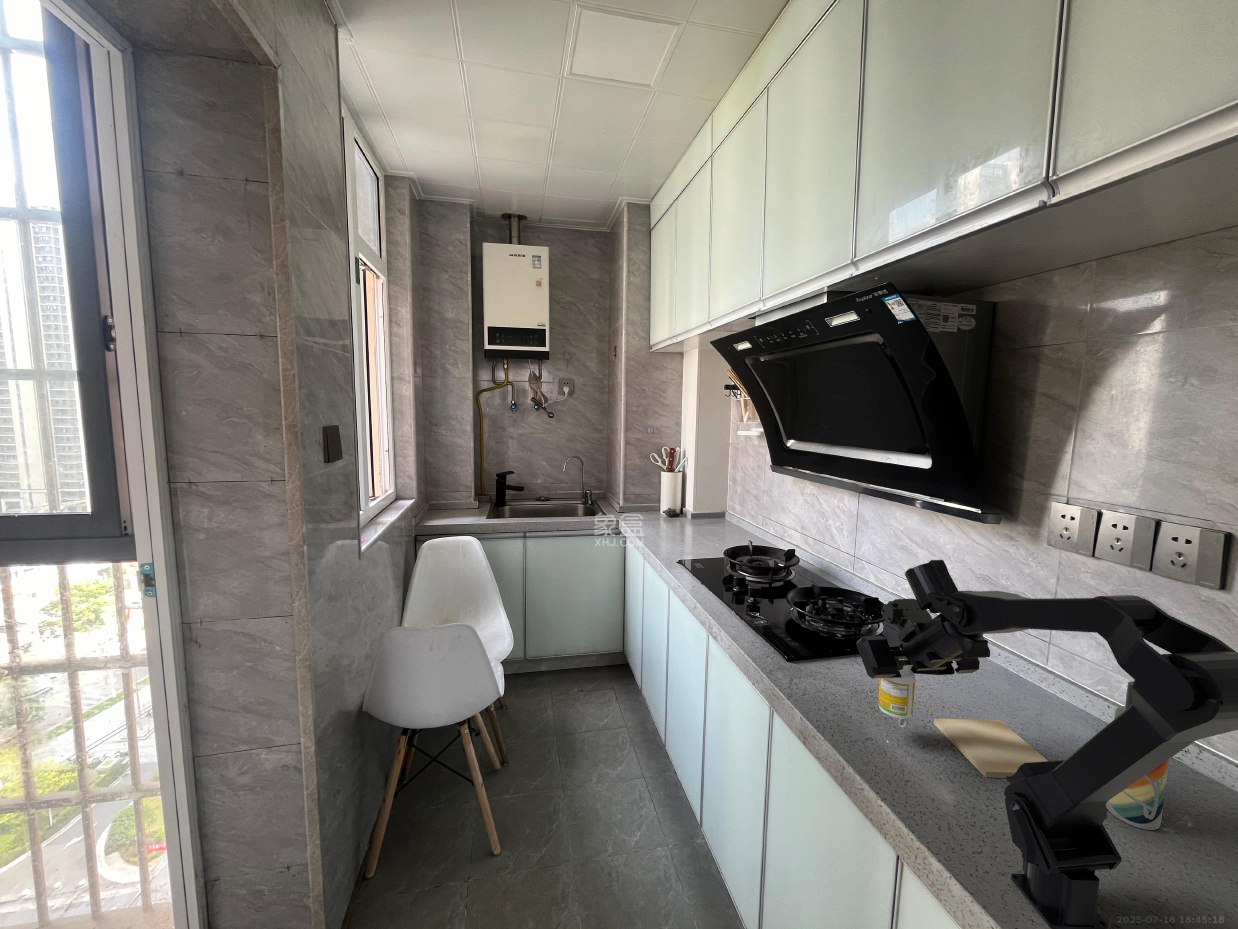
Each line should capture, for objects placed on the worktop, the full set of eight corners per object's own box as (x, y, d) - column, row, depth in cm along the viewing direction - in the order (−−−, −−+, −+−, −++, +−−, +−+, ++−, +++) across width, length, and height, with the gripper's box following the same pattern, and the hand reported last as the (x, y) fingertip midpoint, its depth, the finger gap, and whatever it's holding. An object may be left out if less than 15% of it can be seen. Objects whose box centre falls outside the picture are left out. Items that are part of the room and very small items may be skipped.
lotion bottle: (1130, 830, 70) (1146, 694, 68) (1093, 799, 76) (1107, 673, 74) (1172, 832, 70) (1190, 696, 68) (1133, 801, 76) (1148, 674, 74)
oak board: (1062, 779, 80) (1063, 773, 80) (985, 777, 80) (986, 771, 80) (999, 725, 94) (999, 720, 94) (933, 723, 94) (934, 718, 94)
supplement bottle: (893, 699, 92) (896, 648, 92) (920, 715, 87) (923, 662, 87) (871, 705, 91) (874, 653, 90) (897, 722, 86) (900, 667, 85)
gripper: (971, 587, 84) (920, 624, 96) (865, 591, 82) (827, 628, 94) (1008, 655, 77) (949, 686, 89) (894, 661, 75) (849, 692, 87)
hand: (892, 671), depth 90 cm, fingers closed on supplement bottle, 5 cm apart
